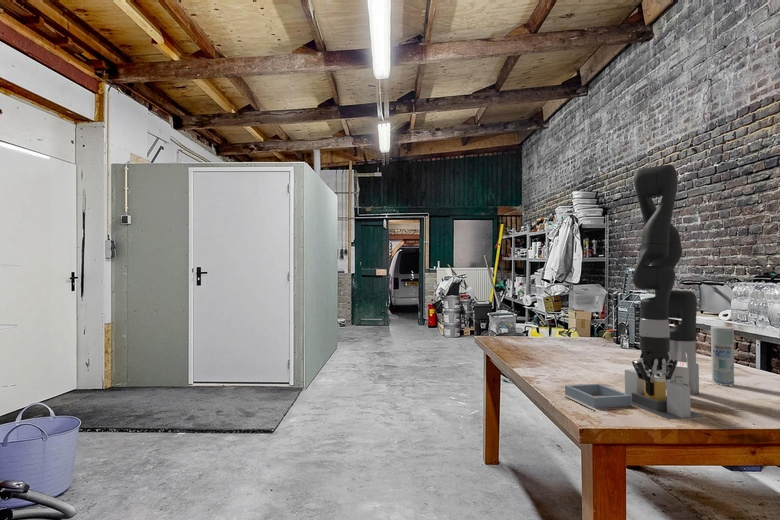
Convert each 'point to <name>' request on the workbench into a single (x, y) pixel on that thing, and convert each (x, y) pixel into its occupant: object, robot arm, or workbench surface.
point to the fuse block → (670, 408)
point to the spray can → (722, 355)
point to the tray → (607, 400)
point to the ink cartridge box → (681, 373)
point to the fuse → (658, 389)
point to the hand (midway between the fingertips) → (655, 394)
